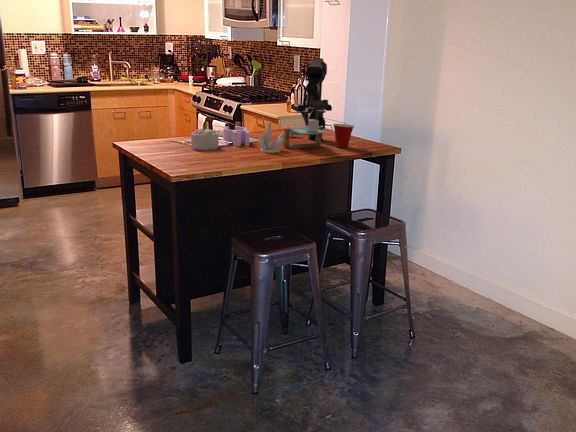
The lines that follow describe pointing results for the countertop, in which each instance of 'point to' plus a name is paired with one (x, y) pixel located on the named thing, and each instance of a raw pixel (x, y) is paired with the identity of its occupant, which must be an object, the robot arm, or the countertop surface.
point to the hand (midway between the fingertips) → (311, 125)
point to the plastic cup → (342, 134)
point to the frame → (287, 145)
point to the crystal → (270, 141)
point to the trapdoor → (302, 131)
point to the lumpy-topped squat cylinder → (204, 139)
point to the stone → (312, 125)
